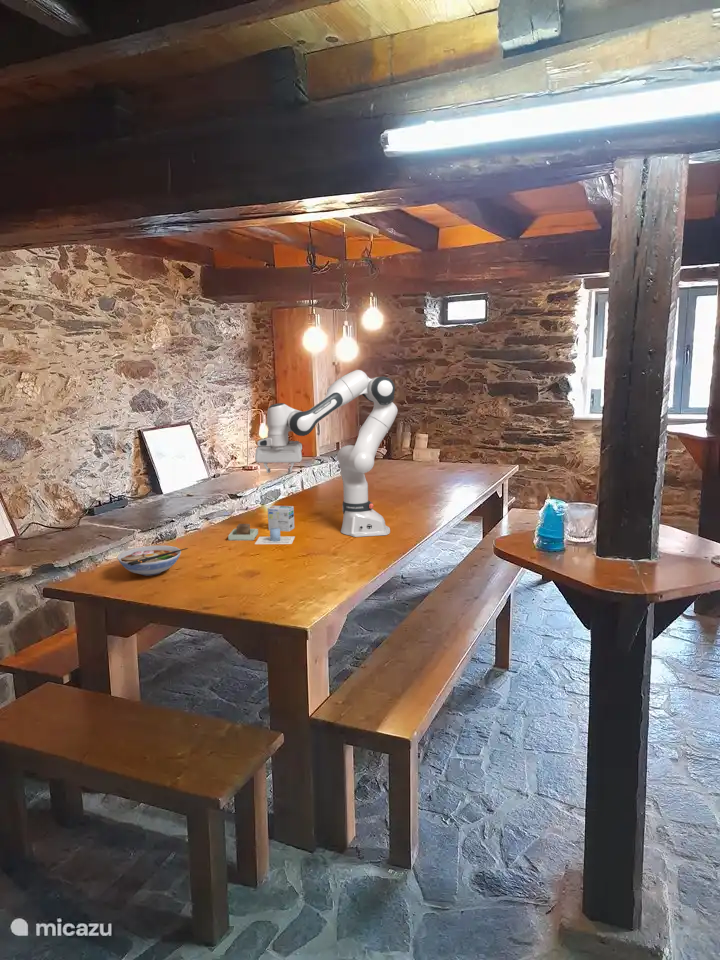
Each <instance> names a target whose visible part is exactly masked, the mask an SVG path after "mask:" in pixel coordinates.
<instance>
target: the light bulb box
mask: <svg viewBox="0 0 720 960" xmlns="http://www.w3.org/2000/svg"><path fill="white" fill-rule="evenodd" d="M294 510H295V508H294V505H271V506H269V507H268V508H267V522H268V523H267V525H268V531H270V529H271V528H280V532H291V531H293V530H294V529H295V528H296V527H295V511H294Z"/></svg>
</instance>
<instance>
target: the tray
mask: <svg viewBox="0 0 720 960" xmlns="http://www.w3.org/2000/svg"><path fill="white" fill-rule="evenodd" d="M258 535H259V528H250V535H237V529H236V528H233V530H232V531H230V533H229V534H228V541H238V542H239V541H245V542H246V541H254V540H255V539H256V537H257V536H258Z"/></svg>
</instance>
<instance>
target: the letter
mask: <svg viewBox="0 0 720 960" xmlns="http://www.w3.org/2000/svg"><path fill="white" fill-rule="evenodd" d="M295 538H296V536H293V535H292V536H287V535H286V536H280V541H276V542H273V541H270V536H259V537H258V538H257V540H256V541H255V542H254V545H292V544H293V542H294V540H295Z"/></svg>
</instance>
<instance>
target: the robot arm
mask: <svg viewBox="0 0 720 960" xmlns="http://www.w3.org/2000/svg"><path fill="white" fill-rule="evenodd" d="M395 391H396V386H395V383H394V381H393V380H392V379H391V378H389V377H387V376H384V375H383V376H376V377H373V378H370V377H369V376H368V375H367V373H366V372H365V371H363V370H362V369H355V370H352V371H351V372H348V373H346V374H345V375H343V376H341V377H339V378H338V379H337V380H335V381H334V382H333V383H331V385H329V387H328V388H327V390H326V395H325V396H324V398H323V399H322V400H321V401H319V402H317V404H315V405H314V406H313V407H311V408H310V409H307V410H304V411H302V410H298V409H296V408H293V407H291V406H289V405H287V404H285V403H284V402H280V403H279V402H278V403H274V404H271V405H270V406H269V407H268V408H267V412H266V413H267V414H266V422H267V424H266V425H267V429H268V430H267V437H264V438H262V439H258V441H257V447H256V449H255V455H254V458H255V459H254V460H255V462H256V463H257V464H259V463H263V466H264V468H265V469H266V474H269V473H271V467H268V464H269V463H270V464H271V463H275V464H278V463H290V467H288V469H287V470H288V471H287V473H289V474H291V473H293V467H294V465H295V463H300V462H302V461H303V453H302V450H303V443H302V442H300V441H299V440H295V441H294V440H289V432H293V434H295V435H296V436H300V437H305V436H307V435H309V434H310V433H311V432H312V431H313V430H314V428H315V427H316V426H317V424H318V423H319V422H320V421H321V420H323V419H325V417H327V416H328V415H330V414H331V413H332V412H333V411H336V410H337V409H338V408H340V407H341V408H342V407H343V406H345V405H347V404H349V403H350V402H351V401H354V400H355V399H357V398H358V397H359V396H361V395H362V396H363V397H364V398H365V399H366V400H368V401H369V402H371V403H373V408H372V411H371V412H370V413H369V415H368V416H367V418H366V420H365V421H364V423H363V424H362V425H361V427H360V429H359V431H358V436H357V439H356V441H355V444H349V445H344V446H342V447H340V449H339V450H338V452H337V461H338V464H339V468H340V475H341V479H342V487H343V488H342V489H343V501H342V514H343V517H342V525H341V529H340V533H341V534H344V535H347V536H351V537H352V538H353V537H354V538H355V537H356V538H360V537H374V536H375V537H376V536H378V537H379V536H387V535H389V534H390V533H391V528H390V526H388V525H386V521H385V518H384V516H383V515H381V514H380V513H379V512H377V511H376V510H375V509H373V508H374V504H373V502H372V501H369V484H368V481H367V479H366V475H365V474H366V473H368V472H370V471H371V470H372V469H373V467H374V466H375V457H376V455H377V451H378V449H379V447H380V444H381V443H382V441H383V440H384V438H385V437H386V435H387V433H388V432H389V431H390V429H391V427H392V425H393V424H394V421H395V419H396V417H397V415H398V411H399V410H398V407H397V405H396V404H395V403H394V400H395V399H394V398H395Z"/></svg>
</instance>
